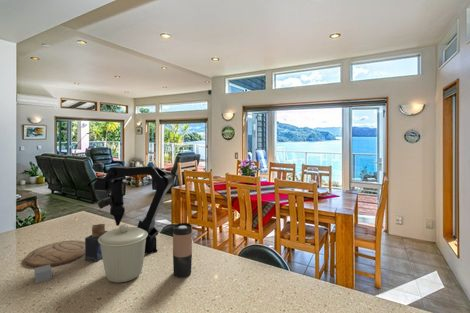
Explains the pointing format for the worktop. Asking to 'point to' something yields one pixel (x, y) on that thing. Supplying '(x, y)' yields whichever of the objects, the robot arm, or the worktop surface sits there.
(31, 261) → the trivet
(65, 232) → the worktop surface
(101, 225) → the walnut block
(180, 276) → the travel mug
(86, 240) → the small box
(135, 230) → the canister
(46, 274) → the slate block
